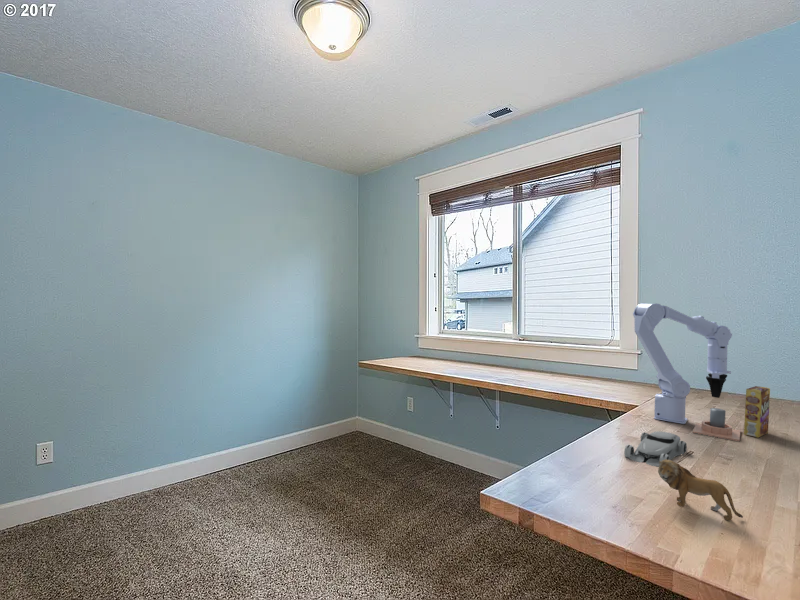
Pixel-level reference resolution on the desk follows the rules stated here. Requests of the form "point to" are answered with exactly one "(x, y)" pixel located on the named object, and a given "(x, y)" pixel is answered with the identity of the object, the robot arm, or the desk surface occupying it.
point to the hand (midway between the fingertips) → (716, 395)
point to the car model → (656, 448)
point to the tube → (717, 417)
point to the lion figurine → (695, 486)
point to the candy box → (757, 411)
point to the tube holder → (717, 431)
